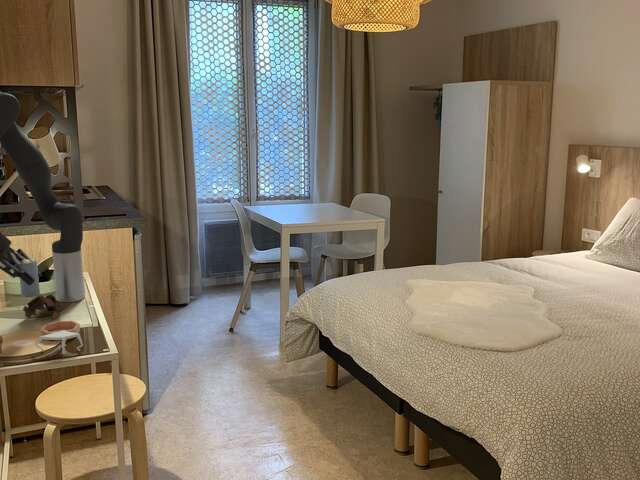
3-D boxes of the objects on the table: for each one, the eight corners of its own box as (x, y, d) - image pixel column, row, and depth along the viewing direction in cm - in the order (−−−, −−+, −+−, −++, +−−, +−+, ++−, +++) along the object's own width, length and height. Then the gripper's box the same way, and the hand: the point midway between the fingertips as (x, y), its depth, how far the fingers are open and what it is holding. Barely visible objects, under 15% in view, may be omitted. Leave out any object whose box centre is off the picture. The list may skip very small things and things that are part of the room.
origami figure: (79, 342, 187) (77, 325, 186) (84, 352, 180) (82, 335, 179) (34, 349, 182) (32, 332, 181) (37, 360, 175) (35, 343, 174)
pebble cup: (25, 291, 194) (21, 257, 192) (42, 291, 195) (39, 257, 192) (18, 297, 189) (15, 262, 187) (36, 297, 190) (33, 262, 187)
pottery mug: (55, 324, 202) (38, 304, 199) (31, 335, 204) (14, 315, 201) (70, 303, 213) (54, 283, 209) (47, 313, 215) (31, 294, 212)
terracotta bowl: (49, 328, 197) (48, 320, 196) (83, 328, 198) (82, 320, 197) (37, 341, 187) (37, 333, 187) (73, 340, 188) (72, 332, 188)
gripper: (-13, 237, 180) (36, 278, 184) (7, 226, 194) (52, 265, 198) (-31, 255, 181) (18, 296, 185) (-9, 243, 195) (36, 281, 199)
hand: (35, 280), depth 191 cm, fingers closed on pebble cup, 5 cm apart
